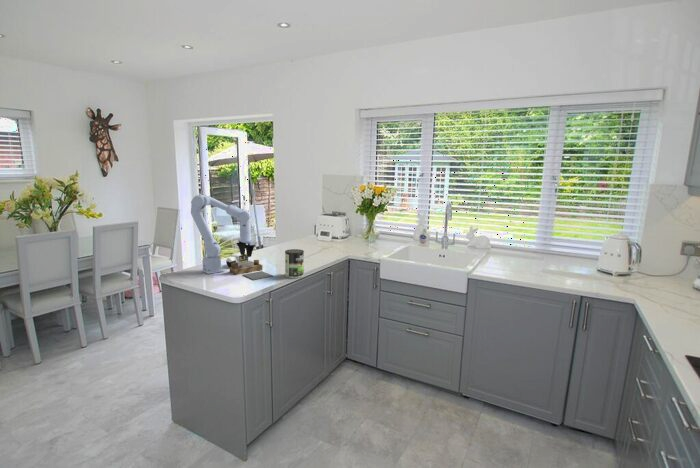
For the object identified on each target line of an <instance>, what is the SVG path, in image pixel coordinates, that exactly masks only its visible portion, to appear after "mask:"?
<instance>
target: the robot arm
mask: <svg viewBox="0 0 700 468" xmlns="http://www.w3.org/2000/svg"><path fill="white" fill-rule="evenodd" d="M190 205H191V206H190V215H191V216H192V219H193V221H194V222H195V223H194V224H195V225H196V227H197V229H198V232H199V234H200V236H201V237H202V239H203V242H204V248H205V253H206V257H203V258H202V261H201V262H202V273H205V274H207V275H210V274H215V273H216V274H217V273H222V272H225V270H224V269H222V259H221V258H222V255H221V254H220V252H221V251H222V247H221V245H220V244H219V242H217V240H216V239H215V238H214V236H213V234H212V232H211V230H210V228H209V226H208V223H207V221H206V219H205V217H204V215H203V213H202V212H203V210H204V208H205V207H206V206H213V207H216V208H217V209H220V210H223V211H225V212H226V214H227V215H228V216H231V217H234V218H235V219H239V235H240V236H239V237H238V238H237V242H236V246H237V247H238V250H239V252H240V253H241V255H244V254H245V253H247V257H248V258H251V257H252V256H253V255H252V254H253V251H254V248H255V247H256V245H255V244H254V241H253V240H254V239H252V235H251V229H252V228H251V217H252V216H251V212H250V211H249V210H247V209H246V210H244V208H240V207H237V204H229V205H228V204H226V203H224V202H222V201H220V200H217V199H216V198H214V197H211V196H209V195H206V194H202V193H201V194H197V195H194V196H193V198H192V200H191V201H190Z"/></svg>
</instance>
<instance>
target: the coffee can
mask: <svg viewBox="0 0 700 468" xmlns="http://www.w3.org/2000/svg"><path fill="white" fill-rule="evenodd" d="M304 253H305V250H303V249H297V248H296V249H295V248H294V249H286V250H285V251H284V256H285V257H284V259H285V260H284V261H285V262H284V263H285V267H284V268H285V269H284V270H285V273H284V275H285V276H284V277H286V278H289V279H300V278H303V277H304V267H305V266H304V263H305V262H304V256H305V255H304Z"/></svg>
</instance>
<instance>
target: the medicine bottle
mask: <svg viewBox="0 0 700 468" xmlns="http://www.w3.org/2000/svg"><path fill="white" fill-rule="evenodd" d="M246 260H247V261H249V257H247V252H245V254H244V255H241V253H240V251H238V252H235V253H232V254H230V256H229V257H227V258H226V260H225V263H226V265H227V267H228V268H229V267H231V263H233V262H237V263H238V266H239V262H241V261H246Z"/></svg>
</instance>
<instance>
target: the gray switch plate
mask: <svg viewBox="0 0 700 468" xmlns="http://www.w3.org/2000/svg"><path fill="white" fill-rule="evenodd" d="M242 276H243V277H245V278H247V279H249V280H252V281H257V280H263V279H267V278H272V277H274V275H273V274H270V273H268V272H265V271H263V270H260V271H255V272H249V273H244V274H242Z"/></svg>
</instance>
